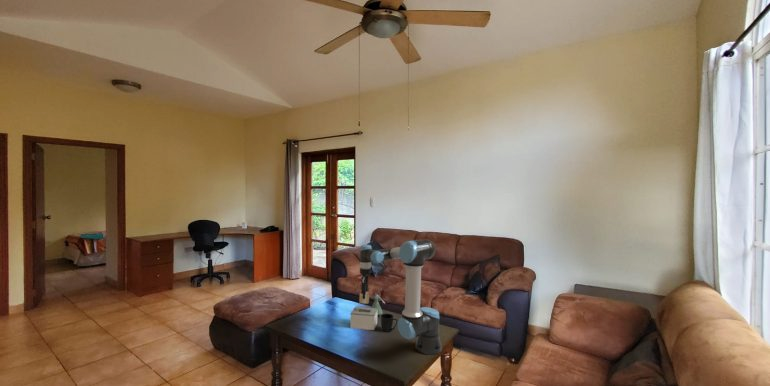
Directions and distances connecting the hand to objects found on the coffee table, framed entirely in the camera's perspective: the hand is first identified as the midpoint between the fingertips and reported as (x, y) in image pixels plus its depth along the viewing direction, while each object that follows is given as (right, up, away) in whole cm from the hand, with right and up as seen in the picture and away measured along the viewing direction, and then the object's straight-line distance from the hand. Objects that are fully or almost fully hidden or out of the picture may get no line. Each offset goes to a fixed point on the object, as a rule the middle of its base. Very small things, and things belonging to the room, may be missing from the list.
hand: (364, 302), depth 219 cm
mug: (+17, -17, -8) cm, 25 cm away
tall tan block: (0, 0, 0) cm, 1 cm away
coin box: (0, -16, 0) cm, 16 cm away
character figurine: (+6, -16, +17) cm, 24 cm away
